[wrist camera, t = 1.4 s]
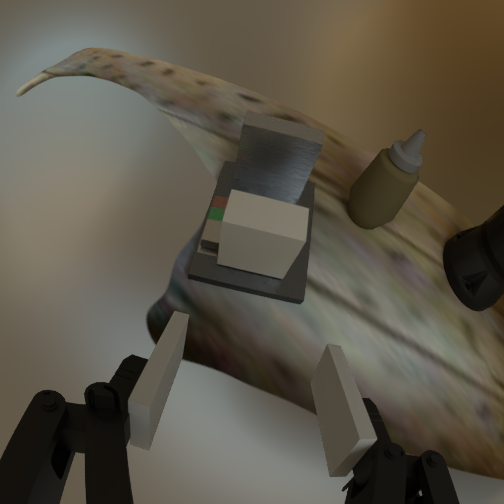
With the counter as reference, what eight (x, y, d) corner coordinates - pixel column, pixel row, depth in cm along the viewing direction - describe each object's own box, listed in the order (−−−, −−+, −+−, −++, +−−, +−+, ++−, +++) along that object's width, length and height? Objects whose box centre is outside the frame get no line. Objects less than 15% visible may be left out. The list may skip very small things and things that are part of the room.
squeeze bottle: (380, 245, 43) (449, 168, 27) (334, 220, 44) (391, 130, 28) (388, 209, 47) (446, 134, 31) (347, 186, 47) (396, 103, 32)
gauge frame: (311, 189, 46) (337, 135, 36) (300, 304, 36) (337, 264, 26) (224, 167, 45) (232, 107, 35) (188, 278, 36) (184, 227, 26)
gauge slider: (289, 230, 39) (310, 187, 31) (282, 279, 36) (305, 241, 28) (211, 211, 39) (215, 163, 31) (196, 258, 35) (196, 215, 27)
